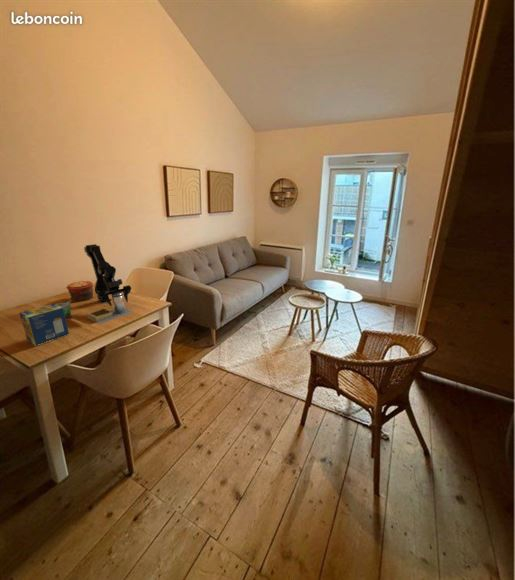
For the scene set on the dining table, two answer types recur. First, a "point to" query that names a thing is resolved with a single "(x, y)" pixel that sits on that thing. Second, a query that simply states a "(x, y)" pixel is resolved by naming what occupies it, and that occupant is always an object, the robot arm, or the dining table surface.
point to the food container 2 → (80, 290)
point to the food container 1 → (65, 308)
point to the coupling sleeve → (118, 302)
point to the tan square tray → (97, 318)
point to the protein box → (44, 323)
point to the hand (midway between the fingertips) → (119, 303)
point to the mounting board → (114, 315)
